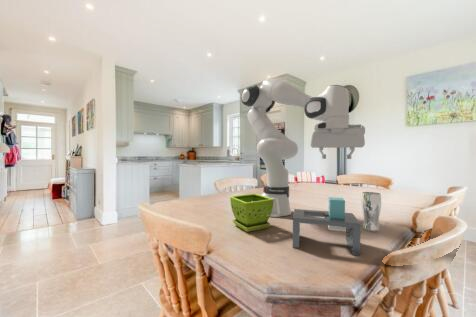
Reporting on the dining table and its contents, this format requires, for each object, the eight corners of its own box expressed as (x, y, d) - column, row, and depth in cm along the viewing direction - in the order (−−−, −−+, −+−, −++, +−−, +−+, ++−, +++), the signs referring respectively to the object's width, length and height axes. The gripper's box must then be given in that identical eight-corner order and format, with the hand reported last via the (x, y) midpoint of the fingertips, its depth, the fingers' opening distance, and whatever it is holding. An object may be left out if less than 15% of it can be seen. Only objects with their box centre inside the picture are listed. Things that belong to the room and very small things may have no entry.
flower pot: (229, 224, 96) (229, 196, 96) (255, 220, 103) (255, 193, 103) (245, 235, 84) (245, 202, 84) (274, 229, 91) (274, 198, 91)
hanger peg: (329, 229, 73) (329, 199, 73) (327, 225, 78) (327, 196, 77) (345, 231, 71) (346, 200, 71) (343, 226, 76) (343, 197, 76)
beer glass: (382, 229, 91) (383, 193, 91) (378, 233, 86) (379, 195, 86) (364, 225, 96) (364, 191, 96) (359, 229, 91) (359, 193, 91)
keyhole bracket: (292, 247, 73) (292, 217, 73) (294, 234, 84) (294, 209, 84) (360, 255, 67) (360, 223, 67) (352, 241, 79) (352, 213, 78)
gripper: (363, 125, 90) (362, 158, 91) (310, 126, 96) (310, 158, 96) (367, 123, 84) (366, 159, 84) (311, 125, 90) (310, 158, 90)
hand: (336, 158), depth 91 cm, fingers open, 8 cm apart
